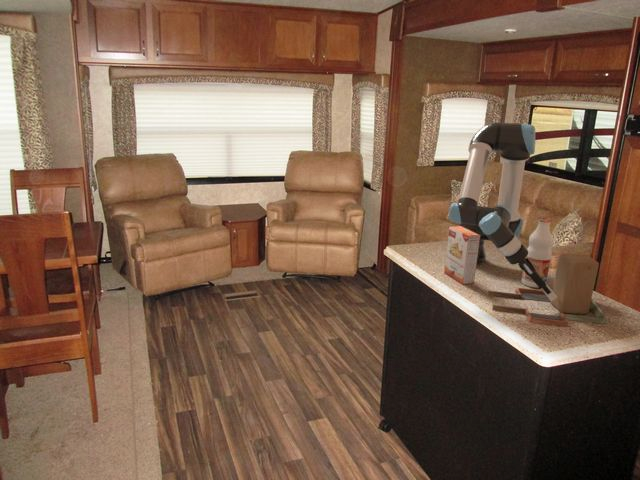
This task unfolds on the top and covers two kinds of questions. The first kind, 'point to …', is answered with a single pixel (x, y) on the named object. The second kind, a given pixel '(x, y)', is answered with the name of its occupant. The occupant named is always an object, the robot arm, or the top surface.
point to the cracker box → (462, 254)
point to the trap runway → (544, 318)
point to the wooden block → (574, 283)
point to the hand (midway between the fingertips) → (554, 298)
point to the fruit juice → (539, 251)
